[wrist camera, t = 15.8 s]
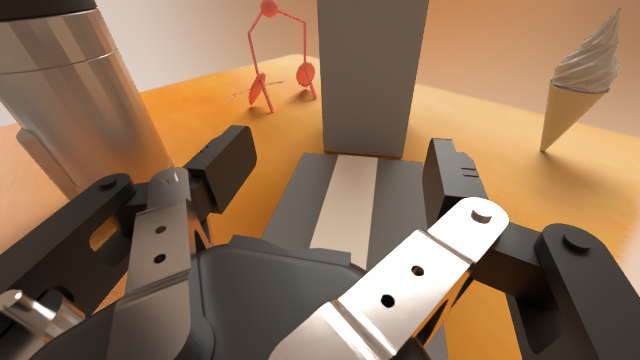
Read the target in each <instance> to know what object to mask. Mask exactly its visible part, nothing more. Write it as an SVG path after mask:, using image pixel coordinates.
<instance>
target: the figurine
mask: <svg viewBox="0 0 640 360" xmlns="http://www.w3.org/2000/svg"><path fill="white" fill-rule="evenodd" d="M278 12H279V13H282V14H284V15H286V16H289V17H291V18H293V19H296V20H298V21H300V22H302V23H304V63H303V64H302V65H301V66H300V67H299V68H298V71H297V73H296V79H297V81H298V83H299V84H300V85H302V86H303V87H306V88H307V86H308V85H310V88H311V91H312V94H313V97H314V98H317V97H316V94H315V91H314V88H313V85H312V82H311V81H312V79H313V78H314V74H315V69H314V67H313V65H312V64H311V63H310V62H306V23H305V21H304V20H301V19H299V18H297V17H295V16H292V15H290V14H288V13H285V12H283V11H281V10H279V9H278V4H277V2H276V1H275V0H262V2H261V12H260V14H259V15H258V17H257V19H256V20H255V22H254V23H253V25H252V27H251V28H250V30H249V31H248V38H249V43H250V47H251V51H252V56H253V60H254V64H255V69H256V73H257V77H256V79H255V81H254V83H253V85H252V87H251V88H250V89H248V90H250V92H249V103H250V105H252V104H253V103H254V101H255V100H256V98H257V97H258V95H259V94H260V92H261V90H263V92H264V95H265V98H266V100H267V103H268V106H269V108H270V111H271V112H273V111H274V110H273V107H272V105H271V102H270V99H269V97H268V94H267V91H266V89H265V86H264V83H265V74H264V73H263V72H262V74H261V73H260V74H259V73H258V68H257V64H256V59H255V55H254V50H253V46H252V41H251V37H250V33H251V32H252V30H253V28H254V27H255V25H256V23H257V22H258V20H259V18H260V17H261V15H262V14H264V15H265V16H266V17H269V18H270V17H274V16H275V15H276V14H277V13H278ZM282 82H283V81H282ZM275 83H280V82H275ZM269 84H273V83H269ZM265 85H268V84H265ZM305 85H306V86H305ZM245 91H247V90H245ZM243 92H244V91H243ZM240 93H242V92H240ZM240 93H238V94H240ZM236 94H237V93H236ZM238 94H237V95H238ZM234 95H235V94H234ZM232 96H233V95H232ZM235 96H236V95H235ZM235 96H233V97H235ZM233 97H232V98H233ZM232 98H230V99H232ZM230 99H229V100H230ZM229 100H228V101H229ZM228 101H227V102H228ZM227 102H226V103H227ZM226 103H225V104H226Z"/></svg>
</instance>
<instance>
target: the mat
mask: <svg viewBox="0 0 640 360" xmlns="http://www.w3.org/2000/svg"><path fill="white" fill-rule="evenodd" d="M338 156H339V155H327V154H315V153H303V155H302V157H301V159H300V161H299V163H298V165H297V167H296V169H295V171H294V173H293V175H292V177H291V179H290V181H289V183H288V185H287V187H286V189H285V192H284V194H283V196H282V198H281V200H280V202H279V204H278V206H277V208H276V210H275V212H274V214H273V216H272V218H271V220H270V222H269V224H268V226H267V228H266V230H265V232H264V234H263V236H262V238H261V239H263V240H265V241H267V242H270V243H272V244H274V245H277V246H279V247H281V248H284V249H287V250H294V249H309V247H310V244H311V241H312V238H313V235H314V231H315V228H316V225H317V222H318V219H319V216H320V212H321V209H322V206H323V203H324V200H325V197H326V193H327V190H328V187H329V184H330V181H331V178H332V175H333V171H334V168H335V165H336V162H337V159H338ZM422 175H423V164H422V162H414V161H401V160H389V159H378V161H377V171H376V180H375V190H374V199H373V208H372V217H371V227H370V236H369V245H368V254H367V264H366V271H367V272H370V271H371V270H372V269H373V268H374V267H376V266H377V265H378V264H379V263H380V262H381V261H382V260H383V259H385V258H386V257H387V256H388V255H389V254H390V253H391V252H393V251H394V250H395V249H396V248H397V247H398V246H399V245H400V244H402V243H403V242H404V241H405V240H406V239H407V238H408V237H409V236H411V235H412V234H413V233H414V232H415V231H416V230H418V229H421V228H422V229H424V230H425V231H428V229H427V221H426V212H425V204H424V195H423V187H422ZM424 349H425V350H426V352H427V353H428V355H429V356H430V358H431V359H432V360H448V354H447V346H446V339H445V331H444V323H442V325H441V326H440V328H439V329H438V331H437V332H436V334H435V335H434V336H433V338H432V339H431V340H430V341H429V343H428V344H427V345H426V347H425V348H424Z"/></svg>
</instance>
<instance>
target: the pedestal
mask: <svg viewBox="0 0 640 360" xmlns="http://www.w3.org/2000/svg"><path fill="white" fill-rule="evenodd" d="M428 4H429V0H317V6H318V7H317V9H318V29H319V30H318V31H319V52H320V75H321V96H322V118H323V140H324V151H325V152H338V153H351V154H363V155H376V156H389V157H401V158H402V156H403V150H404V144H405V138H406V132H407V126H408V121H409V115H410V109H411V103H412V97H413V91H414V86H415V80H416V74H417V68H418V62H419V56H420V51H421V45H422V39H423V33H424V27H425V22H426V16H427V9H428Z"/></svg>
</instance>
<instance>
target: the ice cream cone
mask: <svg viewBox="0 0 640 360" xmlns="http://www.w3.org/2000/svg"><path fill="white" fill-rule="evenodd" d="M619 14H620V8H618V9H617V11H616V12H615V13H614V14H613V15H612V16H611V17H610V18H609V19H608V20H607V21H606V22H605V23H604V24H602V26H600V27H599V28H598V29H597V31H595V32H594V33H592V34H591V35H590V36H588V37H587V38H586V39H584V43H583V44H582V45H581V47H580V48H579V49H578V50H577V51H576V52H574V53H573V54H571V55H569V56H566V57H564V58H563V60H562V61H561V64H560V65H558V66H557V67H556V68H555V74H554V75H555V76H554V77H553V78H552V79H551V80H550V81H549V84H550V87H549V94H548V100H547V107H546V114H545V119H544V126H543V133H542V139H541V146H540V151H545V150H546V149H547V148H548V147H550V146H551V145H552V144H553V143H554V142H555V141H556V140H557V139H558V138H559V137H560V136H561V135H562V134H563V133H564V132H565V131H566V130H568V129H569V128H570V127H571V126H572V125H573V124H574V123H575V122H576V121H577V120H578V119H579V118H580V117H581V116H582V115H583V114H584V113H585V112H587V111H588V110H589V108H591V107H592V106H593V105H594V104H595V103H596V102H597V101H598V100H599V99H600V98H601V97H602V96H603V95H604V94H605V93H608V92H609V91H610V88H609V86H610V85H611V83H612V82H613V80H614V79H615V77H616V75H617V72H618V69H619V65H620V62H619V60H618V59H617V57H616V55H615V51H616V48H617V45H618V44H619V35H618V29H619Z"/></svg>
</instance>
